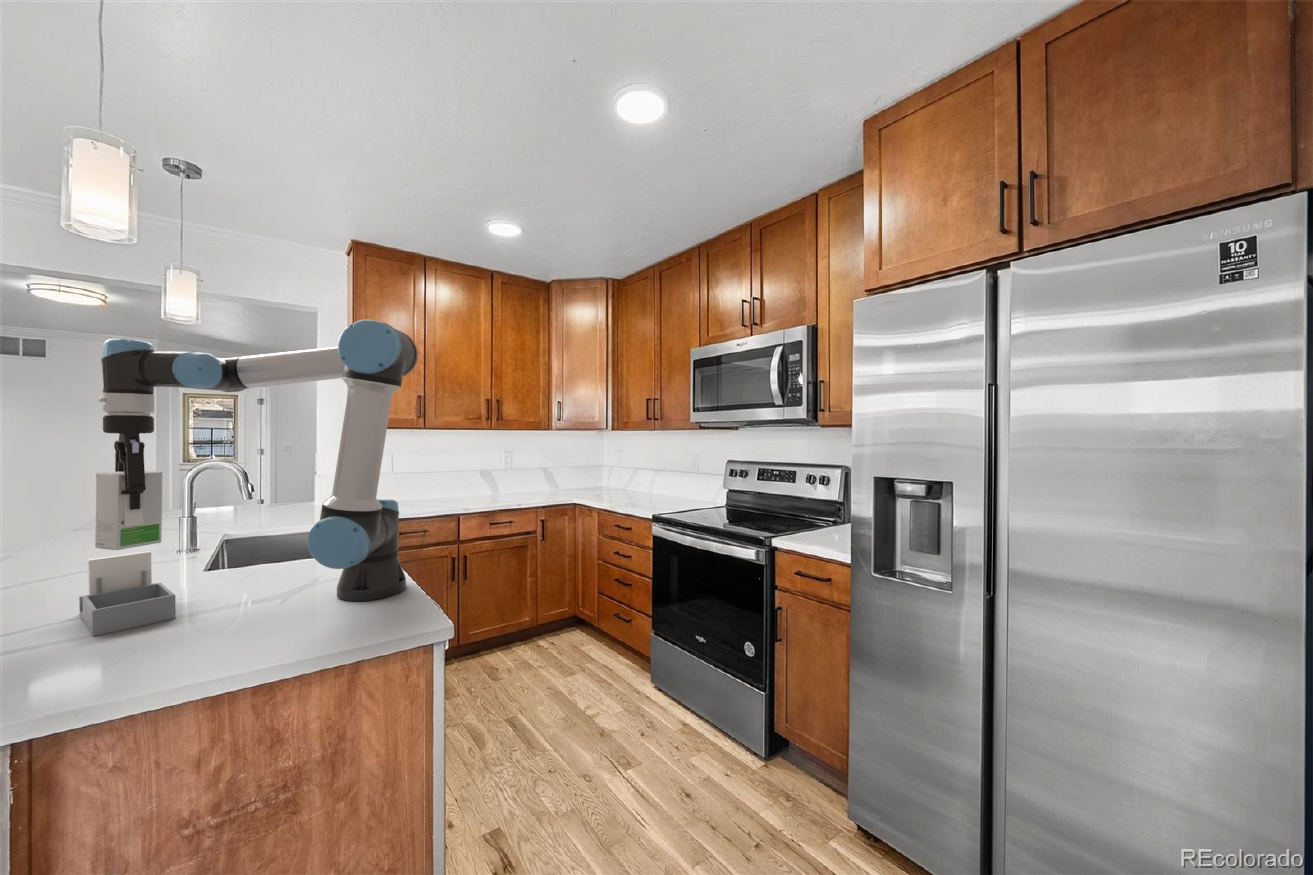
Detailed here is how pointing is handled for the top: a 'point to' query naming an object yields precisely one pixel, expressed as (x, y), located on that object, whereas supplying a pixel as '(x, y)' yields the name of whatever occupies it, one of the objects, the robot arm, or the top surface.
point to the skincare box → (112, 512)
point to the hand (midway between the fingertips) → (129, 522)
